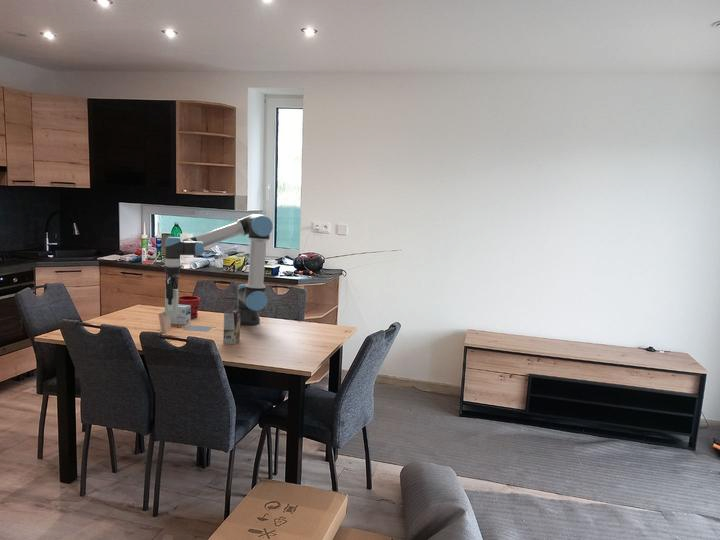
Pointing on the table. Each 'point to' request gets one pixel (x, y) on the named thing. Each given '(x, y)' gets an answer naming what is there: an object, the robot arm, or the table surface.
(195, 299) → the plant pot
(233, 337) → the coffee box
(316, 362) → the table surface
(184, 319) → the light bulb box
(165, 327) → the tile
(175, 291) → the pusher tool
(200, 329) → the tool mat
